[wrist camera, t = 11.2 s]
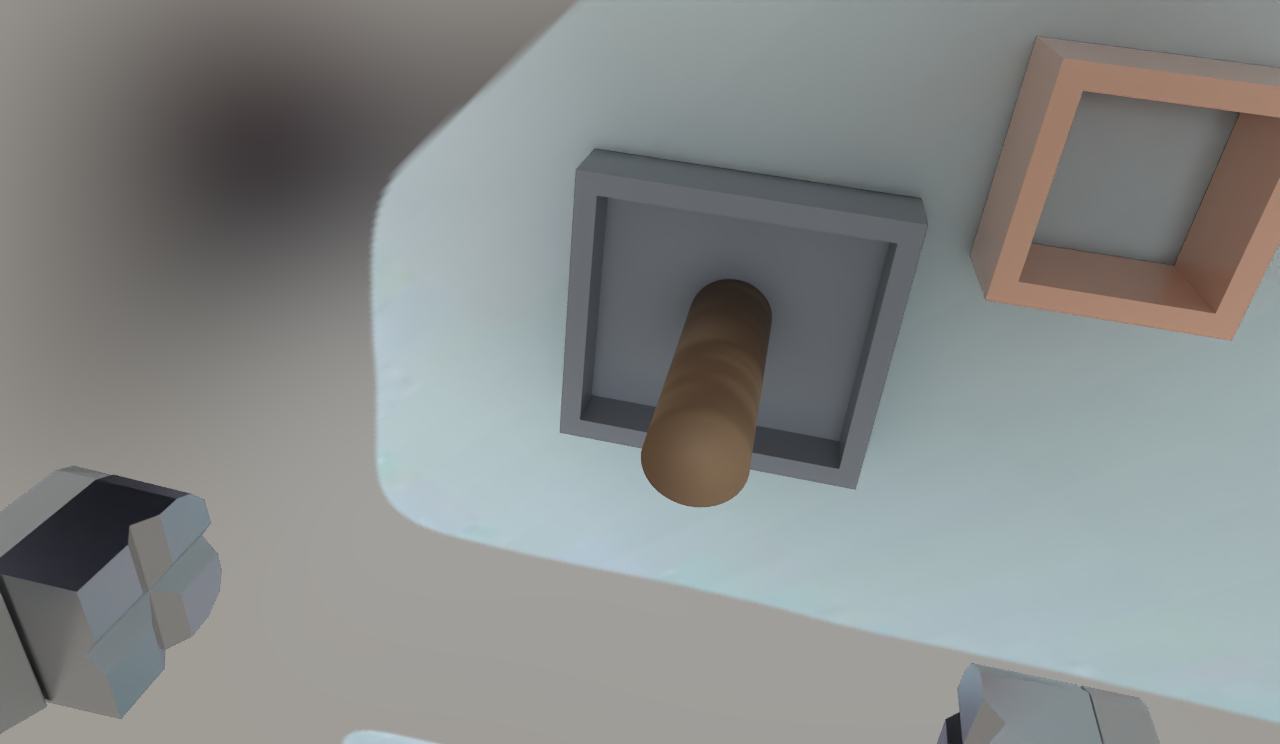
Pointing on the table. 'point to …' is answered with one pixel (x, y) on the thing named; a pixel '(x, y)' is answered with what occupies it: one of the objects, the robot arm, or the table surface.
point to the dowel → (710, 398)
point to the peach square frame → (1222, 229)
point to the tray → (754, 253)
